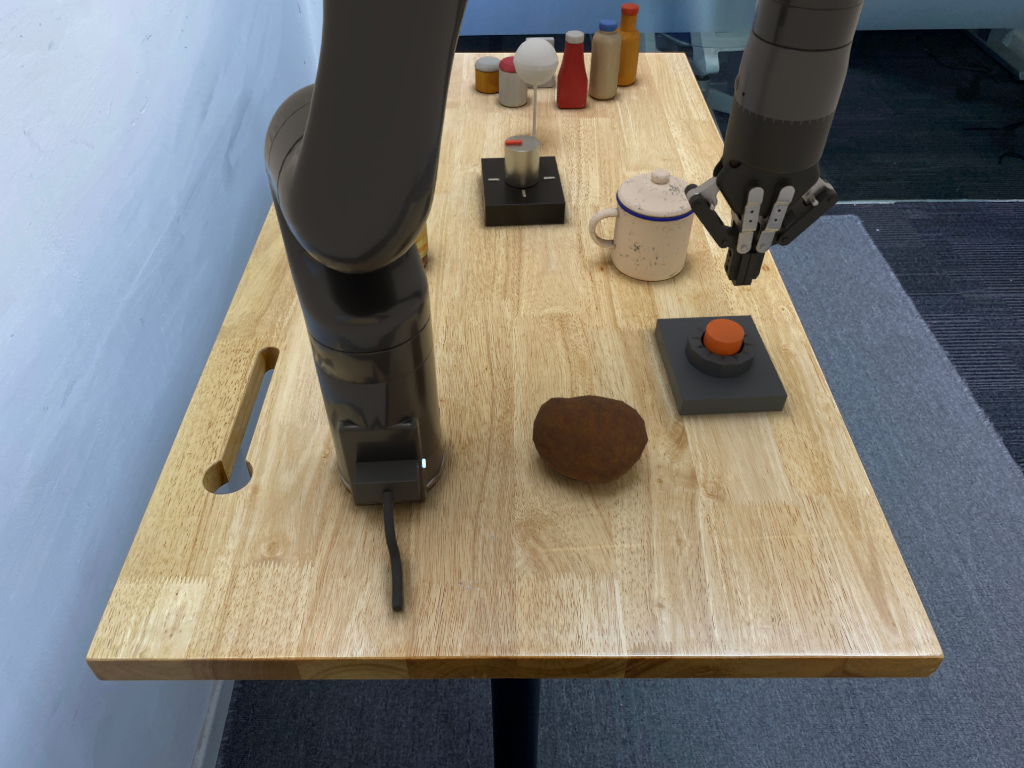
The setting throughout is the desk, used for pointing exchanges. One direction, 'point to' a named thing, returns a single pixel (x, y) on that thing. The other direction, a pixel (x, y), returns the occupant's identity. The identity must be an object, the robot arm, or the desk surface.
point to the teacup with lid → (648, 226)
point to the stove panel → (522, 195)
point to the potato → (589, 437)
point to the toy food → (573, 65)
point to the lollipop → (535, 66)
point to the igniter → (718, 369)
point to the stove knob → (522, 161)
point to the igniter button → (723, 337)
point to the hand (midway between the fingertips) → (739, 280)
